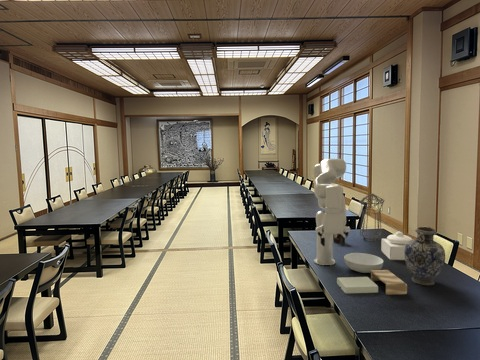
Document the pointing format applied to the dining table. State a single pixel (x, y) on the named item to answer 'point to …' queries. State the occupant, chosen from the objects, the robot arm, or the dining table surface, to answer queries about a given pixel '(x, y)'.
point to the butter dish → (395, 246)
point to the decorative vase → (424, 257)
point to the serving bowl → (363, 262)
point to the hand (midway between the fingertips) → (332, 245)
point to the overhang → (389, 281)
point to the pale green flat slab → (357, 285)
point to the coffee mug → (337, 237)
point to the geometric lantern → (373, 213)
